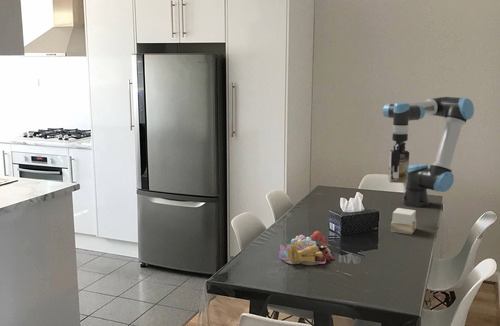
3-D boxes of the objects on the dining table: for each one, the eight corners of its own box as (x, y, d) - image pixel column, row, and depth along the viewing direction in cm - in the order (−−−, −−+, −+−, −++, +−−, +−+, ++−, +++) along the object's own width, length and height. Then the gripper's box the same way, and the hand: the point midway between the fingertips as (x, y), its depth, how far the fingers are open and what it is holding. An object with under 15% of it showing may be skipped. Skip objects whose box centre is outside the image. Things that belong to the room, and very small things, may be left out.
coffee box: (389, 182, 273) (391, 152, 270) (388, 180, 279) (389, 150, 276) (408, 183, 272) (409, 152, 269) (405, 180, 278) (407, 150, 275)
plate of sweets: (338, 266, 219) (339, 245, 217) (282, 268, 217) (282, 247, 216) (325, 245, 244) (325, 226, 242) (274, 247, 242) (274, 228, 240)
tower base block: (396, 226, 269) (396, 217, 268) (416, 229, 264) (416, 219, 263) (390, 232, 261) (391, 222, 260) (411, 235, 256) (411, 225, 255)
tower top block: (397, 217, 268) (397, 207, 267) (415, 220, 263) (415, 210, 262) (392, 222, 260) (392, 212, 259) (410, 224, 255) (411, 215, 254)
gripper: (398, 130, 281) (396, 171, 286) (387, 135, 264) (385, 179, 268) (412, 131, 278) (410, 173, 282) (402, 136, 260) (399, 181, 264)
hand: (398, 176), depth 275 cm, fingers closed on coffee box, 8 cm apart
